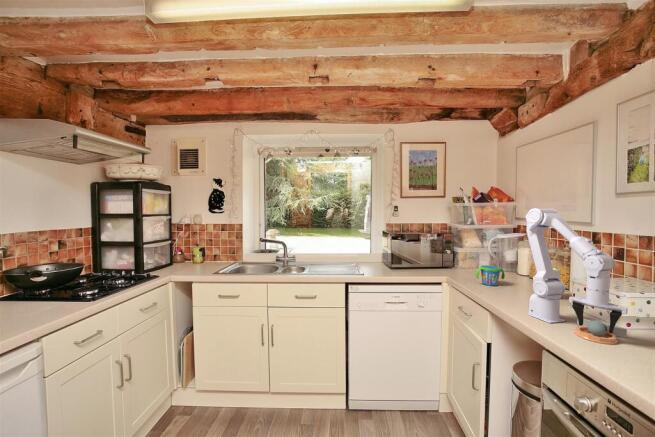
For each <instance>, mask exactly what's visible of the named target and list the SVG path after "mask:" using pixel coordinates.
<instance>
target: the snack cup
mask: <svg viewBox="0 0 655 437" xmlns="http://www.w3.org/2000/svg"><path fill="white" fill-rule="evenodd" d="M480 272H481V273H480ZM500 273H501V278H500ZM480 274H481V280H482V281H481V282H482V284H483V285H485V286H489V287H491V286H492V287H493V286H495V287H497V285H498V283H499V279H502V280H505V278H506V276H505V270H504V269H502V268H501V267H500V266H496V265H487V264H486V265H484V264H483V265H480V266H479V268H477V270H476V273H475V278H476V279H480V278H479V275H480Z"/></svg>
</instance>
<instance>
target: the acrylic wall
mask: <svg viewBox="0 0 655 437" xmlns="http://www.w3.org/2000/svg"><path fill="white" fill-rule="evenodd" d="M591 321H592V320H590V319H587V318H583V325H582V326H588V323H589V322H591ZM604 324H605V326H606V327H607V331H608V332H609V327H610V324H607V323H604ZM578 326H580V325H579V321H578V318H576V327H578ZM612 334H614V335H616V337H619V338H620V337H621V338H623V339H627V336H628V328H624V327H620V326H616V325H615V327H614V330H613V333H612Z"/></svg>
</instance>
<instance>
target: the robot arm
mask: <svg viewBox="0 0 655 437" xmlns="http://www.w3.org/2000/svg"><path fill="white" fill-rule="evenodd" d="M525 220H526V230H525V231H526V235H527V238H528V242H529V247H530V250H531V254H532V259H533V261H534V262H533V263H534V266H535V271H536V274H535V275H533V276H532V281H533V284H532V290H533V291H534V293H532V294H531V295H530V297H529V302H528V304H529V305H528V307H529V308H528V313H527V315H528V316H530V317H533V318H535V319H537V320H541V321H543V322H545V323H548V324H555V323H561V322H565V321H566V320H565V319H563V318H561V317H560V306H561V304H560V303H561V298H562V295H563V294H565V292H566V286H565V284H564V282H563V281H562V279H561V275H560V276H559V275H558V274H556V273H555V272H554V271H553V268H554V267H553V264H552V259H551V257H550V254H549V250H548V245H547V242H546V237H545V234H544V233H545V232H546V230H547V229H549V228H550V227H552V228H553V229H555V230H556V231H557V232H558V233H559V234H560V235H561V236H562V237H563V238H565V239H566V240H567V241H568V242H569V244H568V245H569V247H570V249H571V250H572V251H573V252H574V253H575V254H576V255H577V256H578V257H579V258H580V259H581V260H582V265H583V267H584V268H585V270H586V271H585V272H586V287H585V288H586V289H585V291H586V292H585V297H578V296H571V295H570V296H569V299H568V303H570V304H572V309H573V310H574V313H575V316H576V317H577V318H578V321H579V325H580V326H582V325H583V319H584V313H585V312H584V310H585V306H587V307H591V308H597V309H601V310H605V311H611V312H610V313H609V325H610V327H609V333H613V330H614V327H615V326H616V324H617V323H618V321H619V319H620V318H621V316H622V315H628V306H627V307H626V306H622V305H618V304H614V303H612V302H610V300H609V299H610V286H611V285H610V282H611V270H613V269H614V268H615V266H616V261H615V259H614V258H613V256H612V255H611V254H608V253H605V252H603V250H601V249H599V248H598V247H597V246H596V245H594V244H593V243H592V239H590V238H589V237H588V238H587V237H585V236H580V235H579V234H578V232H576V231H575V230H574V229H573V228H572V227H571V225H569V224H568V223H567V221H565V219H564V218H563V215H562V214H561V213H560V212H559V211H558V210H557V209H555V208H553V207H552V208H536V207H535V208H531V209H530V210H529V211H528V212H527V213H526V214H525ZM546 279H547V280H546ZM577 318H576V319H577Z"/></svg>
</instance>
